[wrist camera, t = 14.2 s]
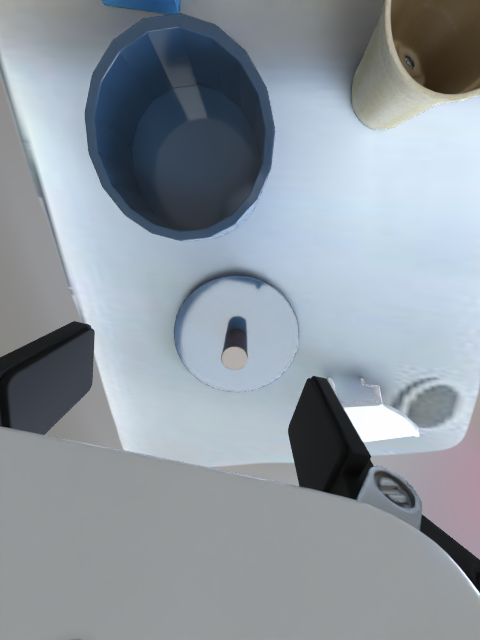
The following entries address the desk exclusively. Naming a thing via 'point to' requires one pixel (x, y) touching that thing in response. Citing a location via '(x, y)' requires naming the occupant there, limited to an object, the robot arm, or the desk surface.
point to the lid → (236, 333)
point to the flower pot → (418, 60)
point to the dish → (180, 128)
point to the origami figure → (377, 418)
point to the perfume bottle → (147, 5)
